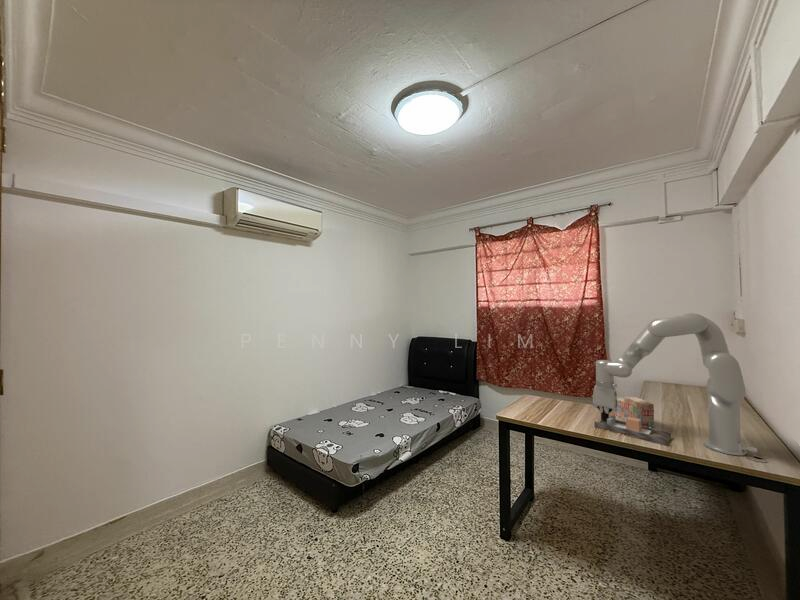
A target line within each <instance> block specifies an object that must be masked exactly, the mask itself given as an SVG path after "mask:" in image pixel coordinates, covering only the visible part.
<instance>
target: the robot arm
mask: <svg viewBox="0 0 800 600" xmlns="http://www.w3.org/2000/svg"><path fill="white" fill-rule="evenodd" d="M685 335H695V337H696V338H697V341H698V344H699V347H700V353H701V357H702V363H703V365H704V367H705V368H707V371H708V374H709V378H708V379H707V381H706V395H707V408H708V409H707V416H708V417H707V418H708V419H707V421H708V424H707V425H708V439H706V440H704V441H703V445H704V446H705V447H706V448H708V449H710V450H712V451H715V452H718V453H721V454H727V455H733V456H745V455H746V456H747V452H751V453H755V454H758V448H757V447H753V445H750V444H749V445H747V444H745V443H743V441H742V440H741V406H740V402H741V401H743V400H744V398H745V396H746V394H747V391H746V386H745V382H744V381H745V380H744V377H743V373H742V369H741V366H740V364H739V363H740V362H739V361H738V360H737V359H736V358H735V357H734V356H733V355H732V354H730V351H729V346H728V344H727V341H726V337H725V334H724V333H723V331H722V329H721V328H720V326H719V325H718V324H716V323H715V322H714V321H712V320H710V318H708V317H705V316H704V315H702V314H699V313H684V314H683V315H678V316H673V317H672V316H671V317H664V318H655V319H652V320H650V321H649V322H648V324H647V325H646V326H645V327H644V328H643V329H642V330H641V332H640V333H639V334H638V335H637V336H636V338H634V340H633V341H632V342H631V343H630V345H629V346H628V347H627V349H626V350H625V351H624V352H623V353H622V354H621V355H620V357H619V358H618V359H617V360H616V361H615V362H613V361H611V360H607V359H598V360H596V361H595V385H594V387H593V394H592V407H594V408H597V409H598V410H599V412H600V419H601V418H602V421H607V419H608V418H609V417H610V415H609V413H611V412H613V411H617V406H618V402H617V398H618V395H617V389H616V387H617V386H618V384H617V383H615V382H614V377H617V378H618V377H619V378H623V379H624V378H629V377H630V376H631V375H632V373H633V369H634V368H635V367H636V366H637V365H638V364H639V363H640V362H641V360H643V359H644V358H645V357H647V356H649V355H651V353H653V352H654V351H655V349H657V347H658V346H659V345H660V344H661V342H663V340H664V339H665V338H670V337H678V336H685Z"/></svg>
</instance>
